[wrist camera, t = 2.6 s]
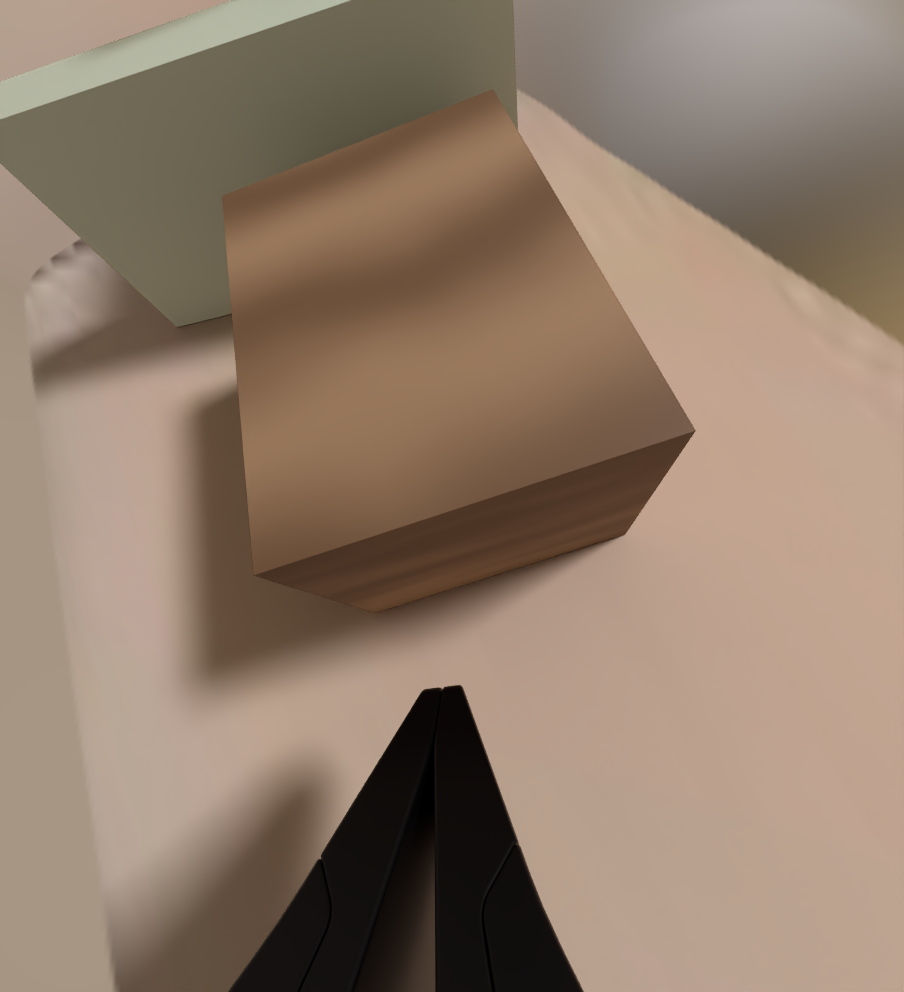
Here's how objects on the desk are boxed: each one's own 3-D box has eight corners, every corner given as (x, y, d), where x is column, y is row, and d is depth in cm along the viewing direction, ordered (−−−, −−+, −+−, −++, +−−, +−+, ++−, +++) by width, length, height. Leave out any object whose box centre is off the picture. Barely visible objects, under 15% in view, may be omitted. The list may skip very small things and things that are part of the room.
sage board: (521, 240, 22) (510, -55, 13) (176, 327, 25) (-35, 130, 16) (512, 202, 23) (495, -94, 14) (183, 289, 26) (-11, 85, 17)
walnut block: (624, 535, 16) (695, 430, 9) (376, 613, 17) (253, 575, 10) (508, 282, 22) (493, 89, 14) (325, 348, 22) (221, 196, 15)
